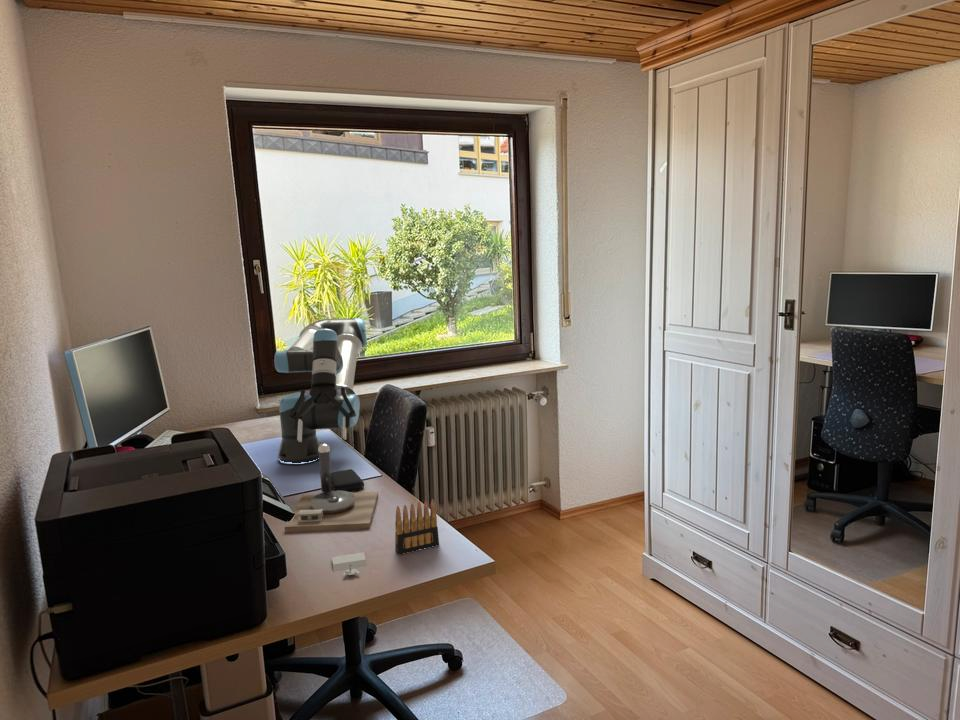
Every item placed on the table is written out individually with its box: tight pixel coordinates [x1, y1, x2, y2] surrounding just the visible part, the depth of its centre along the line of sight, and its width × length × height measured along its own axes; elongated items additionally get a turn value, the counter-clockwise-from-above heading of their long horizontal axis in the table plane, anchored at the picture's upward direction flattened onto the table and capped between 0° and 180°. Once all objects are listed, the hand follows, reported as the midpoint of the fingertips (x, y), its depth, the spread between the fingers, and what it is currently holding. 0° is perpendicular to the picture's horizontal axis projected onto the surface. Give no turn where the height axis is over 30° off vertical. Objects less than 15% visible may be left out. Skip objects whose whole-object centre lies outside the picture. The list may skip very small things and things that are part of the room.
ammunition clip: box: [394, 498, 440, 556], centre depth 157 cm, size 11×2×12 cm, turn 114°
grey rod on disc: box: [310, 443, 355, 514], centre depth 182 cm, size 15×12×16 cm
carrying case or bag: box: [331, 468, 365, 492], centre depth 202 cm, size 11×3×15 cm
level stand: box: [284, 491, 379, 533], centre depth 181 cm, size 22×22×4 cm
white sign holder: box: [331, 551, 367, 577], centre depth 149 cm, size 7×12×2 cm, turn 16°
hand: (321, 439), depth 199 cm, fingers open, 13 cm apart
